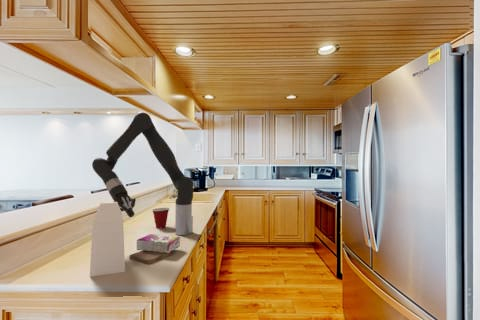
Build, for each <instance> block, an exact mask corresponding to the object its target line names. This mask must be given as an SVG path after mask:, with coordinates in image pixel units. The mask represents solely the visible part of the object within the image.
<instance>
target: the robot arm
mask: <svg viewBox="0 0 480 320" xmlns="http://www.w3.org/2000/svg"><path fill="white" fill-rule="evenodd" d="M141 134H143V136H144V138H145V139H146V141H147V143H148V145H149V147H150V149H151V151H152V154H153V155H154V156H155V158H156V160H157V161H158V163H160V166H162V168H163V169H164V171H165V172H166V173H167V174H168V176H169V178H170V180H171V181H172V184H173V186H174V188H175V189H176V191H177V197H176V199H175V225H174V227H175V230H174V232H175V235H177V236H189V235H191V234H192V233H193V229H194V228H193V227H194V226H193V225H194V223H193V220H194V219H193V218H194V217H193V215H192V212H193V207H192V205H193V198H194V182H193V181H194V180H193V179H192V178H191V177H189V176H186V175H185V174H184V173H183V171H182V170H181V169H180V167H179V166H178V162H177V159H176V156H175V154H174V152H173V151H172V149H171V148H170V146H169V144H168V143H167V142H166V140H165V139H164V138H163V137H162V136H161V134H160V133H159V132H158V130H157V128H156V127H155V124H154V123H153V120H152V117H151V116H150V115H149V114H148V113H147V112H138V113H137V114H135V115H134V117H133V120H132V121H131V123H130V124H129V126H128V127H127V128H126V130H125V131H124V132H123V133H122V134H121V135H120V136H119V137H118V138H117V139H116V140H115V141H114V142H113V143H112V144H111V145H110V147H108V149H107V150H106V152H105V154H106V156H107V158H106V159H105V158H103V157H97V158H95V159H94V160H93V161H92V164H91V166H92V170H94V172H95V173H96V174H97V176H98V177H99V179H100V178H101V180H102V182H103V184H104V186H105V188H106V189H107V191H108V193H109V195H110V197H111V198H112V200H113V202H117V203H118V205H119V207H120V210H121V212H125V213H126V215H127V217H129V218H132V217H134V216H135V212H134V210H133V209H134V207H135V206H136V205H135V204H136V201H137V199H136V198H135V197H134V198H131V196H130V195H129V194H128V190H127V189H126V187H125V186H124V183H122V181H121V179H120V178H119V175H117V174H116V172H115V171H113V170H114V169H115V167H116V165H117V162H118V160H119V159H120V158H121V157H122V155H123V154H124V153H125V152H126V151H127V150H128V148H129V147H130V146H131V144H132V143H133V141H134V140H136V138H137V137H138V136H139V135H141Z"/></svg>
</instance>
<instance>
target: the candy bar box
mask: <svg viewBox="0 0 480 320" xmlns="http://www.w3.org/2000/svg"><path fill="white" fill-rule="evenodd" d="M180 246H181V237H180V236H179V235H177V236H176V235H167V234H166V235H164V234H155V233H149V234H147V235H145V236H143V237H140V238H138V239H136V250H137V251H152V252H161V253H169V252H171V251H173V252H174V250H176V249H177V248H179V247H180Z"/></svg>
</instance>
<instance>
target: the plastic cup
mask: <svg viewBox="0 0 480 320" xmlns="http://www.w3.org/2000/svg"><path fill="white" fill-rule="evenodd" d="M169 211H170V207H158V208H153V209H151V212H152V213H153V217H154V223H155V228H156V229H165V228H166V226H167V222H168V221H167V220H168V216H169Z"/></svg>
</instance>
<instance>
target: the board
mask: <svg viewBox="0 0 480 320" xmlns="http://www.w3.org/2000/svg"><path fill="white" fill-rule="evenodd" d="M172 255H174V250H173V251H171V252H169V253H161V252H152V251H143V250H139V251H138V252H134V253H132V254H129V256H128V259H130V260H133V261H136V262H139V263H143V264H146V265H150V264H152V263H153V264H154V262H157V261H160V260H162V259H164V258H167V257H170V256H172Z"/></svg>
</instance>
